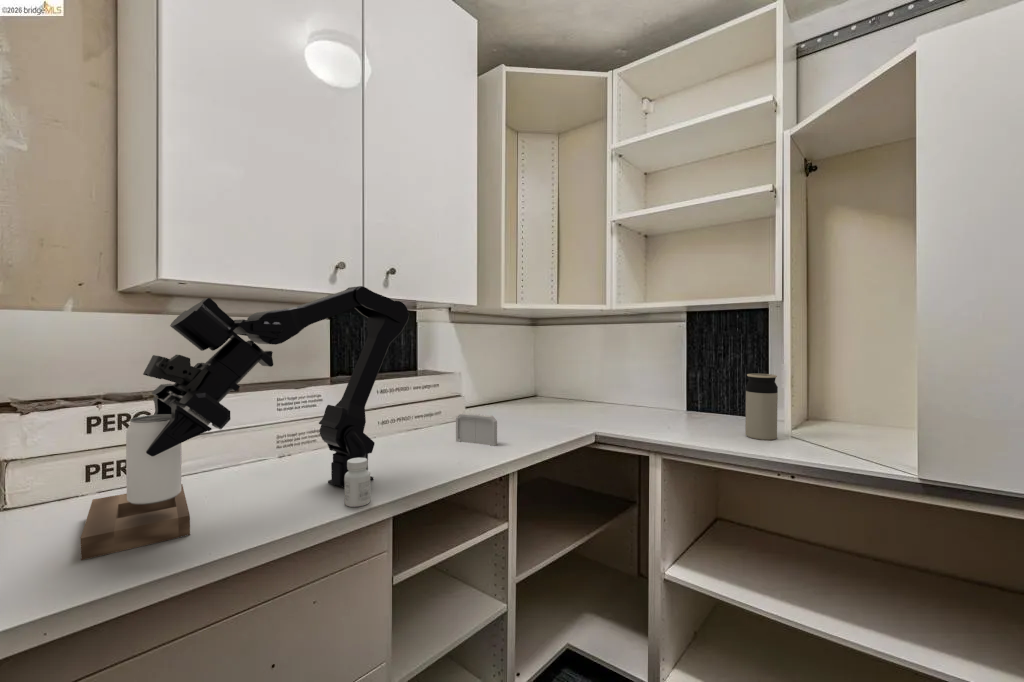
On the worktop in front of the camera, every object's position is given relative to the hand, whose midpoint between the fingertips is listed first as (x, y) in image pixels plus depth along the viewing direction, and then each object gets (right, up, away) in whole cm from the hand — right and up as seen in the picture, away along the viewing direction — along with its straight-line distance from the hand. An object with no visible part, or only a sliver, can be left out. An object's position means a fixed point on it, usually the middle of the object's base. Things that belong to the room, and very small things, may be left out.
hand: (143, 450), depth 67 cm
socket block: (-4, -13, +6) cm, 15 cm away
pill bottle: (+26, -13, +15) cm, 33 cm away
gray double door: (+44, -12, +58) cm, 74 cm away
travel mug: (+126, -12, +64) cm, 141 cm away
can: (+1, -8, +1) cm, 8 cm away
